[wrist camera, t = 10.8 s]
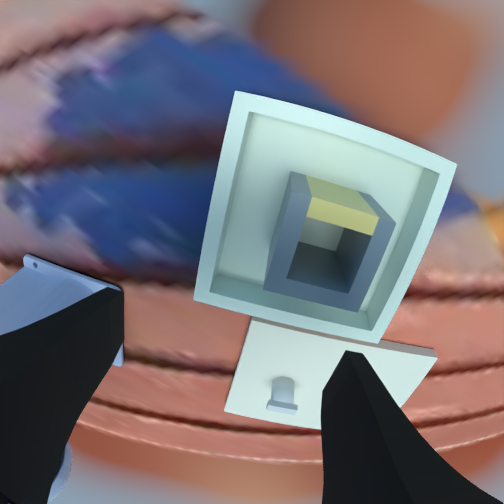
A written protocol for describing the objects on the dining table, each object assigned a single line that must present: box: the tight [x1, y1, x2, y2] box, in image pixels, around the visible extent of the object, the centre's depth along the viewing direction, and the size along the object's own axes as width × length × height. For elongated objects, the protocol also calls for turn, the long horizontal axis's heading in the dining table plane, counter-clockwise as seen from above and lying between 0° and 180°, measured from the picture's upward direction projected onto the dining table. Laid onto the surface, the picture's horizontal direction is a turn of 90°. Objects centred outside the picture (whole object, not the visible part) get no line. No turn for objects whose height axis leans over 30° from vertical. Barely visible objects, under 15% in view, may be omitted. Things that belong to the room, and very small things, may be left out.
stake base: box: [224, 316, 438, 429], centre depth 21 cm, size 14×10×4 cm
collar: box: [263, 171, 396, 313], centre depth 15 cm, size 4×4×4 cm
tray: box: [193, 91, 457, 344], centre depth 16 cm, size 11×11×3 cm
